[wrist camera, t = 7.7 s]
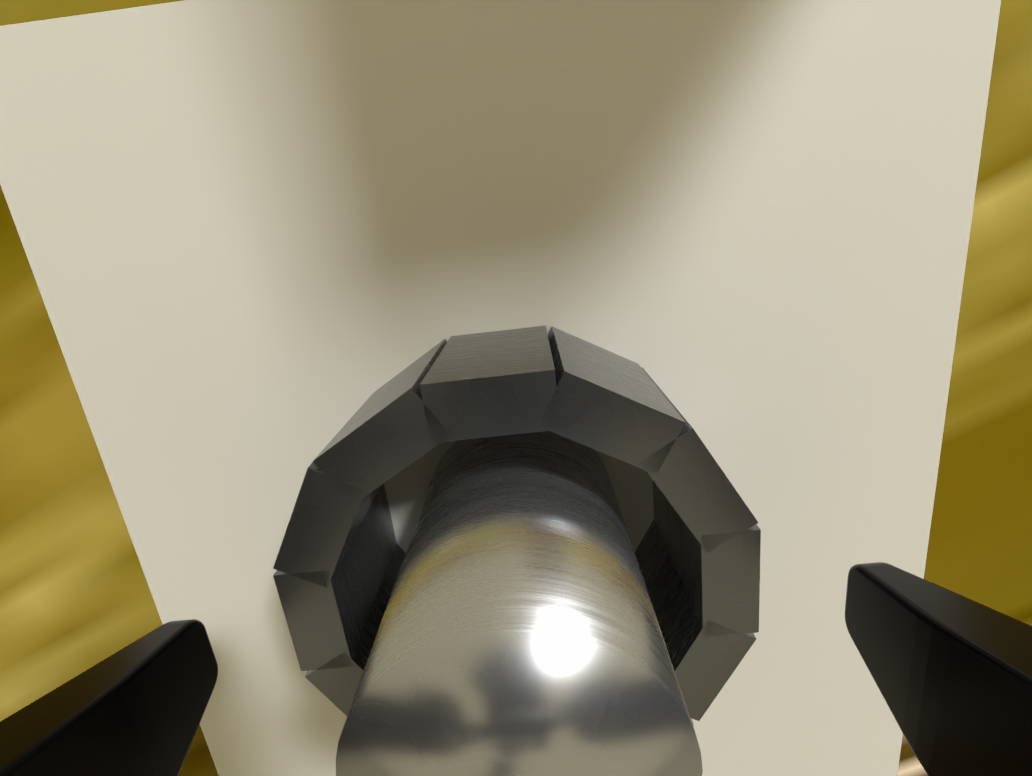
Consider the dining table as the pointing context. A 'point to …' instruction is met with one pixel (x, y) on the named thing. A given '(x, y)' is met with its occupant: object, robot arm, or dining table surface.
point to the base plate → (509, 285)
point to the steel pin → (519, 631)
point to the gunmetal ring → (508, 411)
